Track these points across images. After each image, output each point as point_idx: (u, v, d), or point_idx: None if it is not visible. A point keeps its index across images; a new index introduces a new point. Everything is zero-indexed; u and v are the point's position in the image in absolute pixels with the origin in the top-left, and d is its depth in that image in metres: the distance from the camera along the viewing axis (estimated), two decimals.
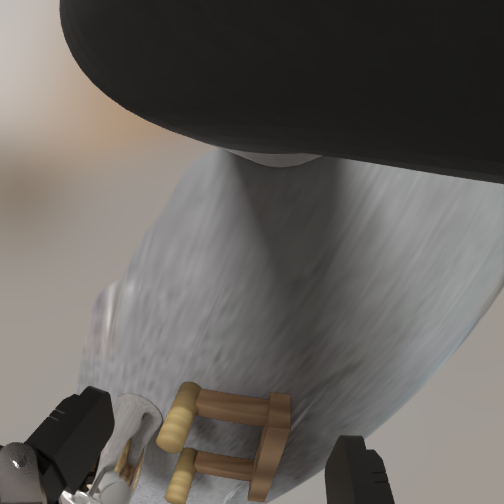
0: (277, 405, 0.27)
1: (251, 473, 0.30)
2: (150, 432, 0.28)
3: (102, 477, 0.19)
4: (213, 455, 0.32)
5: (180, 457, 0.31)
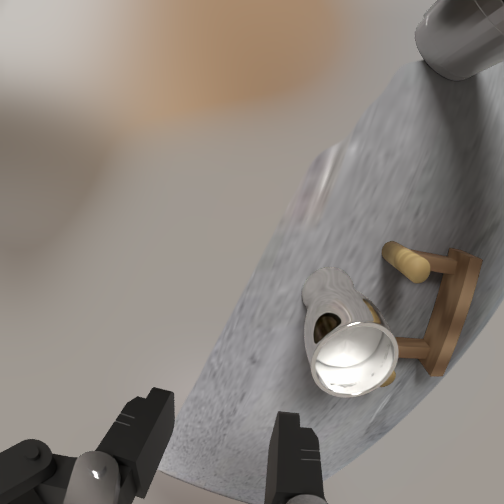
0: (461, 252, 0.30)
1: (429, 346, 0.33)
2: None
3: (376, 311, 0.22)
4: None
5: None
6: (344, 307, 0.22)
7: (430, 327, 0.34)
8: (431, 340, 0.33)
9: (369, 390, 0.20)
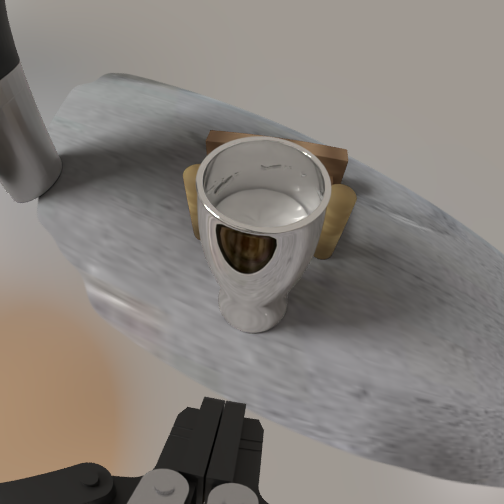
0: None
1: None
2: None
3: None
4: None
5: None
6: (198, 219, 0.16)
7: None
8: None
9: (315, 159, 0.15)
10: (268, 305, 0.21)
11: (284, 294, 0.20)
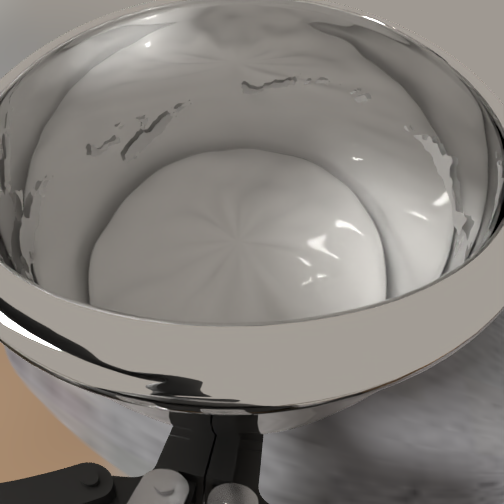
0: None
1: None
2: None
3: None
4: None
5: None
6: None
7: None
8: None
9: (410, 33, 0.03)
10: None
11: None
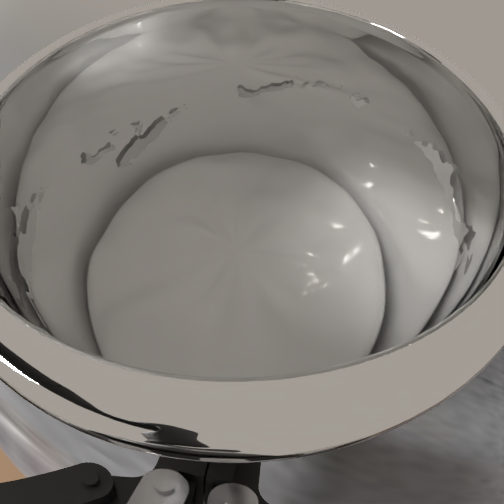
0: None
1: None
2: None
3: None
4: None
5: None
6: None
7: None
8: None
9: (411, 38, 0.03)
10: None
11: None
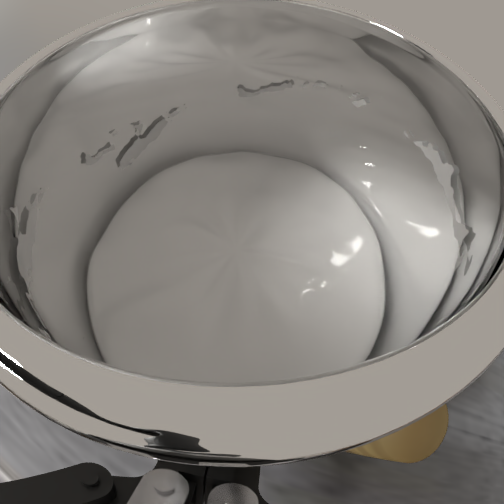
0: None
1: None
2: None
3: None
4: None
5: None
6: None
7: None
8: None
9: (411, 38, 0.03)
10: None
11: None
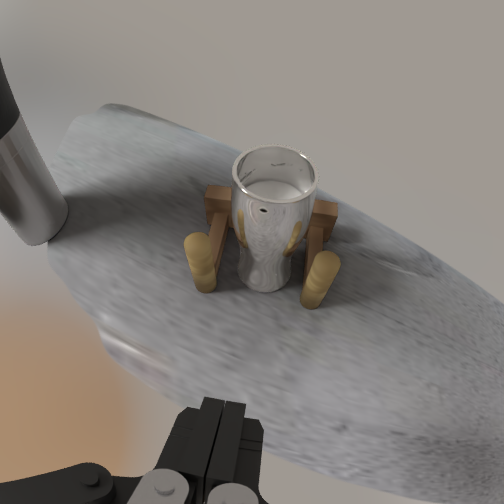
0: None
1: (309, 228, 0.36)
2: None
3: None
4: (304, 273, 0.35)
5: (305, 299, 0.32)
6: (231, 199, 0.24)
7: None
8: None
9: (308, 159, 0.24)
10: (278, 264, 0.29)
11: (289, 254, 0.28)
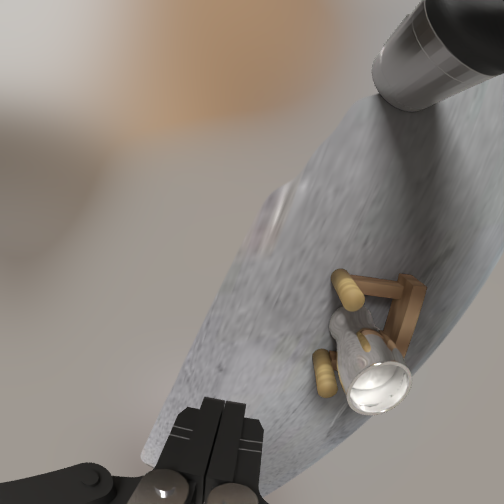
0: (409, 278, 0.35)
1: None
2: None
3: (395, 349, 0.27)
4: None
5: (317, 356, 0.39)
6: (371, 348, 0.27)
7: None
8: None
9: (389, 409, 0.25)
10: None
11: None
